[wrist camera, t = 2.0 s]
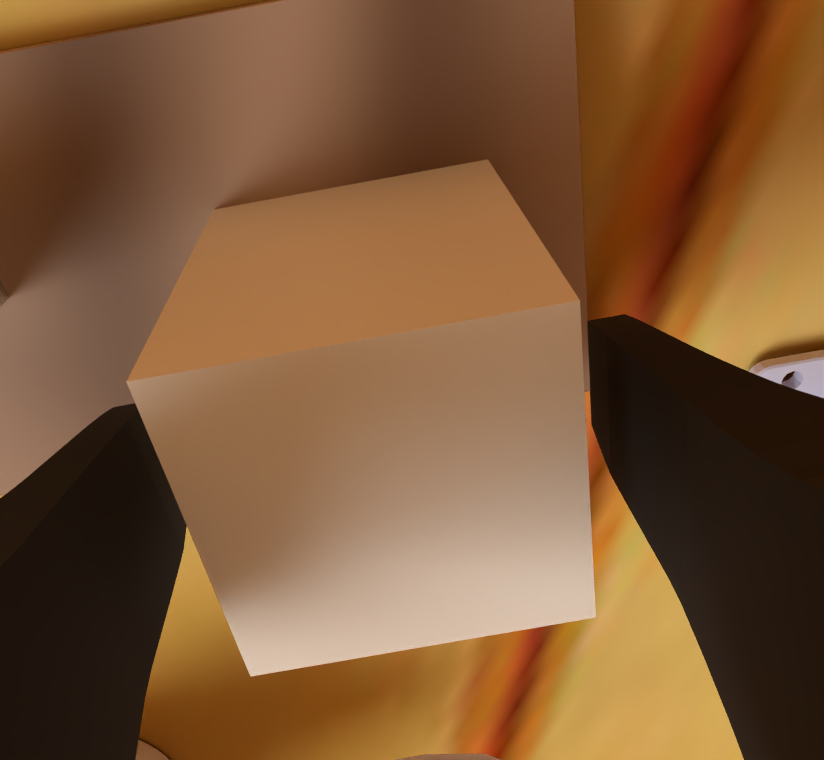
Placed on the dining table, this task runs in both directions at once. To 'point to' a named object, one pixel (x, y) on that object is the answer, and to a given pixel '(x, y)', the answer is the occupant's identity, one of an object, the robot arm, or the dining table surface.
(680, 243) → the dining table surface
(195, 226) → the stand
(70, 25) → the dining table surface
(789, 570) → the robot arm
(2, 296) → the post
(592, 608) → the tan rectangular block
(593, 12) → the dining table surface
